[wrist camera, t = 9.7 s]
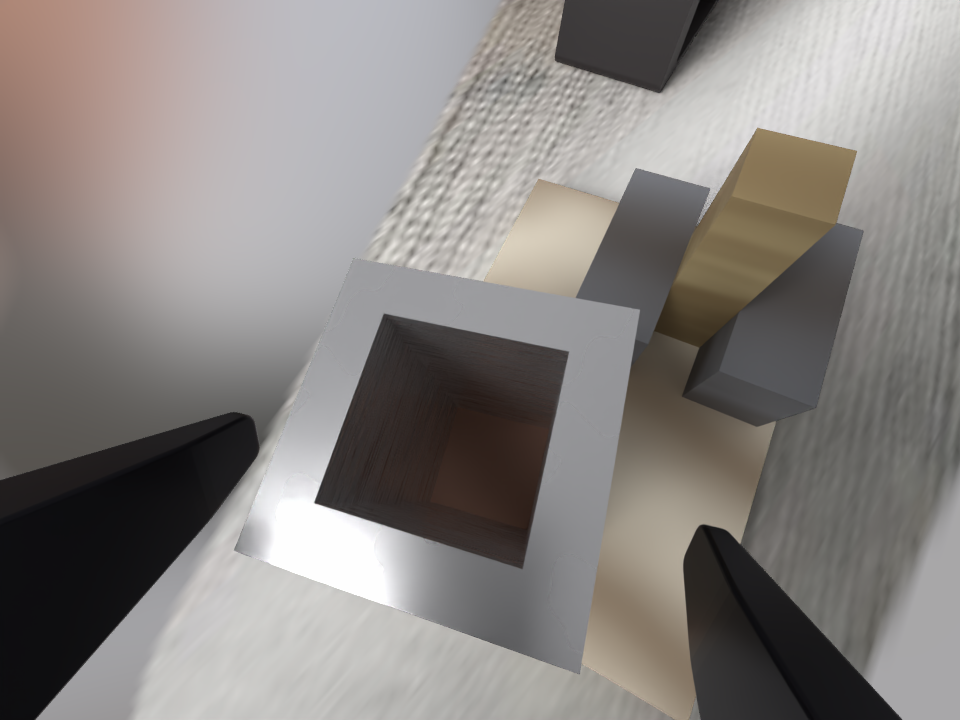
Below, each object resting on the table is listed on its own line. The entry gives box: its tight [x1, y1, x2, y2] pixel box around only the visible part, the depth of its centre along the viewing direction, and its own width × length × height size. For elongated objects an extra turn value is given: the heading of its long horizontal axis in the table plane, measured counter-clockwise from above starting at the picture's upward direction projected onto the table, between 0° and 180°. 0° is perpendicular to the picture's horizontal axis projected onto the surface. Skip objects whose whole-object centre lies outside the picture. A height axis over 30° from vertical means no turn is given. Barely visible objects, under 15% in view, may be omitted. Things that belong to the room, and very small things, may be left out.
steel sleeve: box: [234, 258, 640, 674], centre depth 10 cm, size 5×5×8 cm
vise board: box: [431, 128, 863, 720], centre depth 12 cm, size 16×12×8 cm
